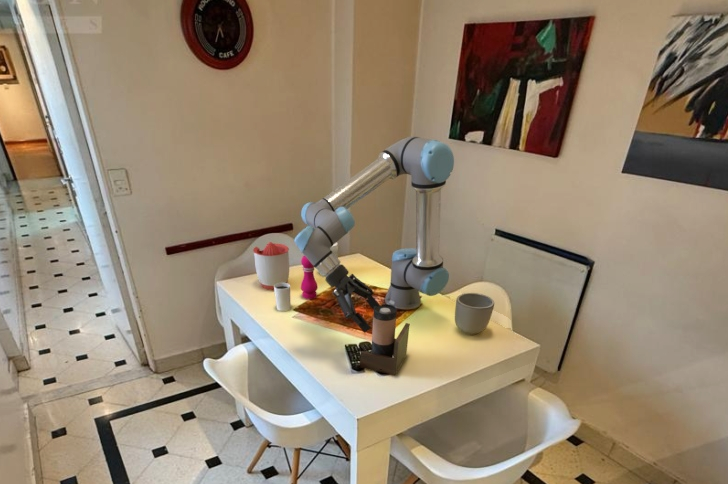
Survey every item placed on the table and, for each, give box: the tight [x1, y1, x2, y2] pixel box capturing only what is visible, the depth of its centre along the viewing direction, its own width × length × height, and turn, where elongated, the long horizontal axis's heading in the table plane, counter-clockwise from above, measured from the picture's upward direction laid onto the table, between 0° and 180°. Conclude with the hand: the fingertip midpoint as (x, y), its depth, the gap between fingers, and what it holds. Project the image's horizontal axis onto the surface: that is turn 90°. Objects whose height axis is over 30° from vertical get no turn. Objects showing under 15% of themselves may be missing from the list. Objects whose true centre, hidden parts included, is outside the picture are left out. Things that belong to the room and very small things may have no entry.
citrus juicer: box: [252, 241, 290, 291], centre depth 207 cm, size 16×17×20 cm
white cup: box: [273, 282, 292, 312], centre depth 190 cm, size 7×7×10 cm
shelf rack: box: [359, 322, 411, 376], centre depth 157 cm, size 14×13×13 cm
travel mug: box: [371, 303, 398, 358], centre depth 155 cm, size 8×8×20 cm
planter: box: [454, 292, 495, 336], centre depth 175 cm, size 14×14×13 cm
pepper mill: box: [300, 255, 318, 300], centre depth 197 cm, size 7×7×20 cm
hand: (374, 321), depth 153 cm, fingers open, 13 cm apart
